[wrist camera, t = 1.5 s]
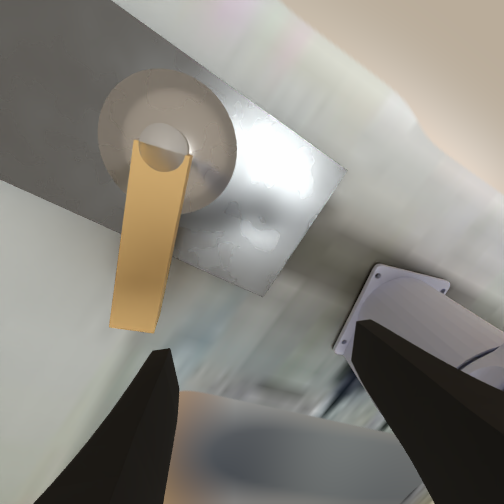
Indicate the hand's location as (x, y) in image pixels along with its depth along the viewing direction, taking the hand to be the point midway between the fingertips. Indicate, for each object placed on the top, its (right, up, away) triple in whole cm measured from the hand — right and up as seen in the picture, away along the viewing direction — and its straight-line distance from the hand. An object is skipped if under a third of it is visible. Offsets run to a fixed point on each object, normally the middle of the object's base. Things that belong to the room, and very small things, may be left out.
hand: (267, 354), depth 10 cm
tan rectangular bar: (-6, +5, +5) cm, 9 cm away
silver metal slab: (-6, +10, +7) cm, 13 cm away
